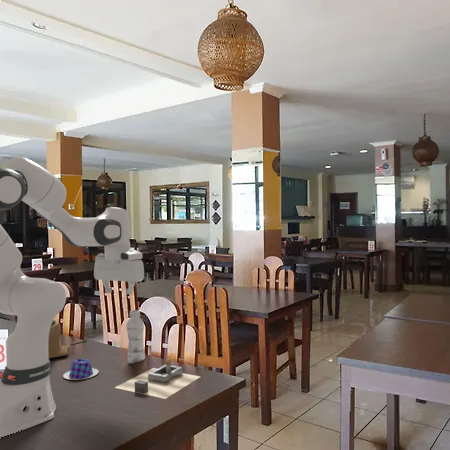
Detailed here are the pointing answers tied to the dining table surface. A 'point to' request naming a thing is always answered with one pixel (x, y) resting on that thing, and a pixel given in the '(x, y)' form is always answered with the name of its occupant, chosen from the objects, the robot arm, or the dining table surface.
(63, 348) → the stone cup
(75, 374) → the plaid fedora hat
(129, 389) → the board
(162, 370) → the steel link
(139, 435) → the dining table surface
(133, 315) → the plastic bottle
